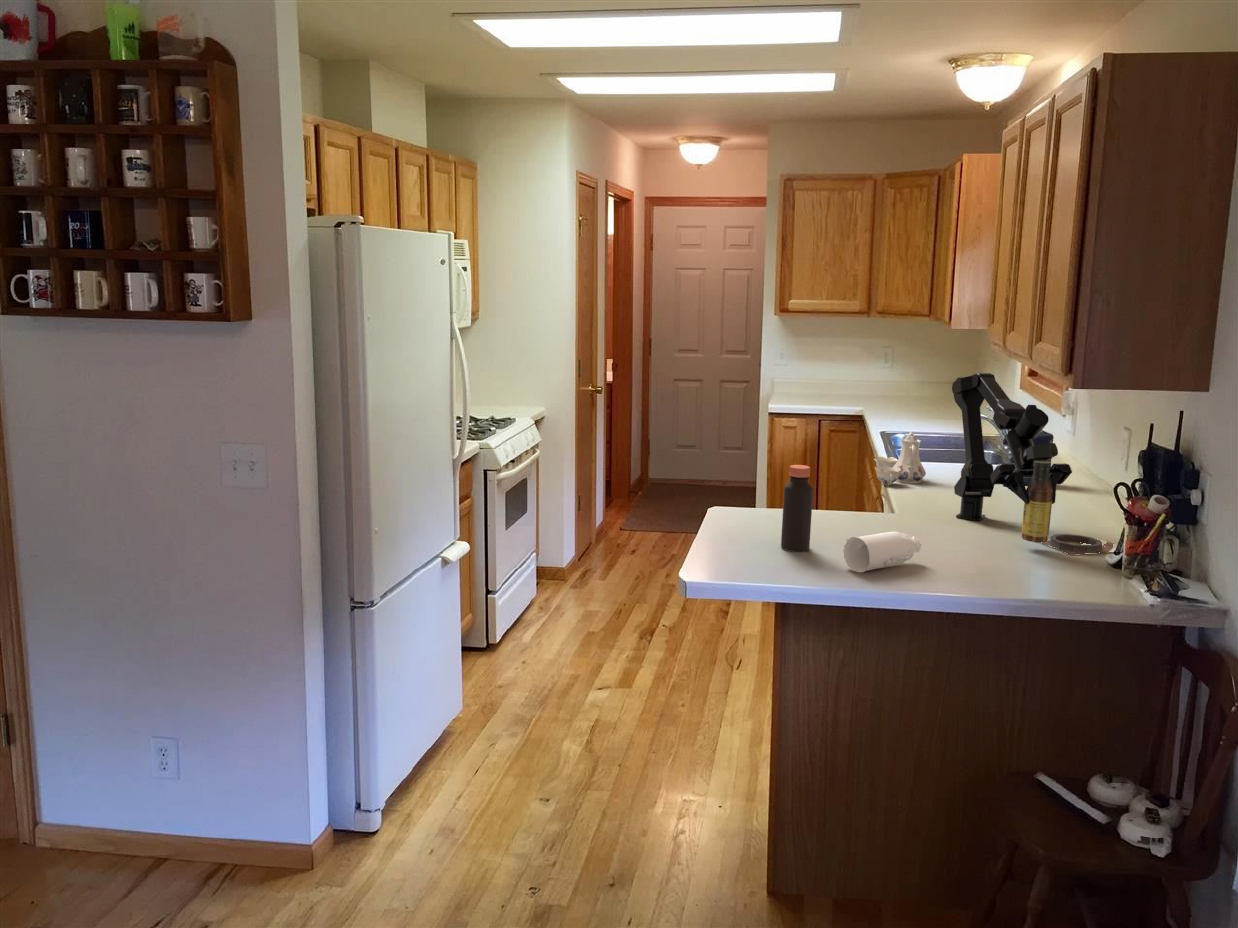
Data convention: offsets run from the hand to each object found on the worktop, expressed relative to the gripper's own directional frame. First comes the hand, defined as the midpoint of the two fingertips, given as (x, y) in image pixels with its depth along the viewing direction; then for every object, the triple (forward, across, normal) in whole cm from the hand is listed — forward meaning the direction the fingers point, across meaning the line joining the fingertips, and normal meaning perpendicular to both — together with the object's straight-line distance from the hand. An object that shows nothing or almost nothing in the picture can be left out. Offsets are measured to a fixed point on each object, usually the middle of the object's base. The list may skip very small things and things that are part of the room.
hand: (1040, 503), depth 253 cm
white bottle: (+16, -44, +1) cm, 47 cm away
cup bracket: (+6, +15, +11) cm, 19 cm away
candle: (-46, +43, +65) cm, 90 cm away
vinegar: (+5, -59, +12) cm, 60 cm away
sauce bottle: (+6, 0, +8) cm, 10 cm away
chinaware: (-51, 0, +70) cm, 87 cm away
